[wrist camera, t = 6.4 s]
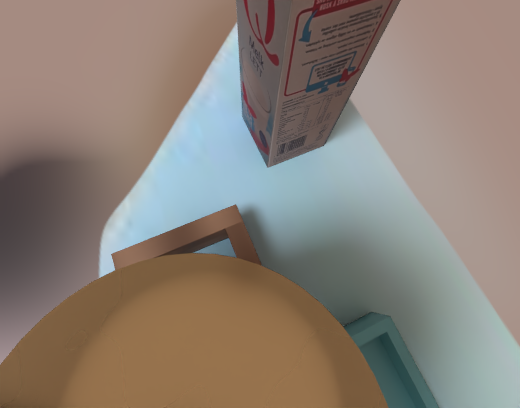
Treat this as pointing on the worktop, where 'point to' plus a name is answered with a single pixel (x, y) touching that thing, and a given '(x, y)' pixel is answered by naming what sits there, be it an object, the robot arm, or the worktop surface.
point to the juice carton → (302, 67)
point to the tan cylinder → (189, 343)
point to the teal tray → (390, 362)
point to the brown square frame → (193, 239)
